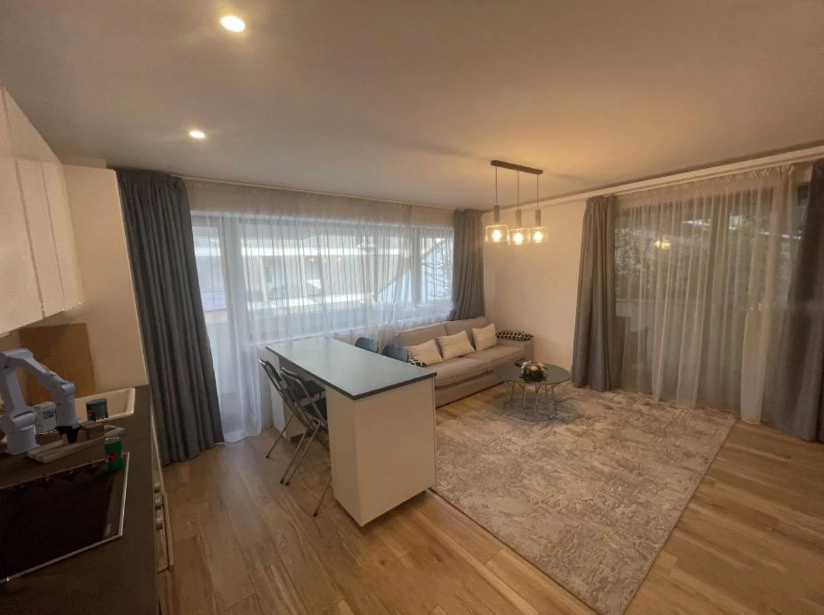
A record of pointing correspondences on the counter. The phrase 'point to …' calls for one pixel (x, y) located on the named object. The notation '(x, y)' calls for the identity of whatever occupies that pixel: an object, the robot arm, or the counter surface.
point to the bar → (81, 436)
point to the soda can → (113, 453)
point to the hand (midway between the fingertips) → (70, 441)
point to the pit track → (93, 437)
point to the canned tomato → (97, 409)
